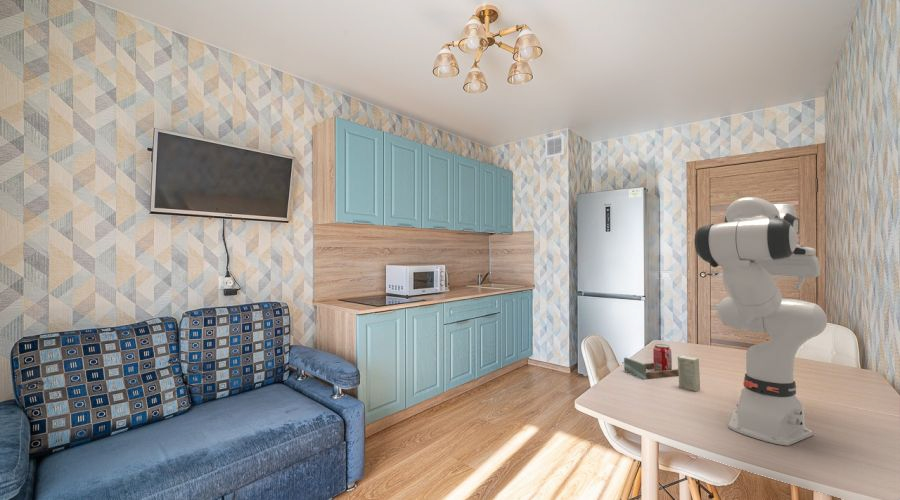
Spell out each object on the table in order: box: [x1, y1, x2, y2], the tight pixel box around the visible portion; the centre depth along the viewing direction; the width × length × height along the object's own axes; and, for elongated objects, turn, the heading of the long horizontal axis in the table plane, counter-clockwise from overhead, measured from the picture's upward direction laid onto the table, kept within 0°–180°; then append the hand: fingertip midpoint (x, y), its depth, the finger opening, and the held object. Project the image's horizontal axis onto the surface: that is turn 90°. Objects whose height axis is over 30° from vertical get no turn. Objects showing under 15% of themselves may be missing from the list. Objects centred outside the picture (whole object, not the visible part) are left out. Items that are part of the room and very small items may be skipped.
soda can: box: [652, 343, 673, 372], centre depth 164 cm, size 7×7×12 cm
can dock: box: [623, 357, 679, 380], centre depth 163 cm, size 18×12×6 cm, turn 104°
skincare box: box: [677, 354, 701, 392], centre depth 144 cm, size 6×4×12 cm
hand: (779, 287), depth 131 cm, fingers open, 8 cm apart
